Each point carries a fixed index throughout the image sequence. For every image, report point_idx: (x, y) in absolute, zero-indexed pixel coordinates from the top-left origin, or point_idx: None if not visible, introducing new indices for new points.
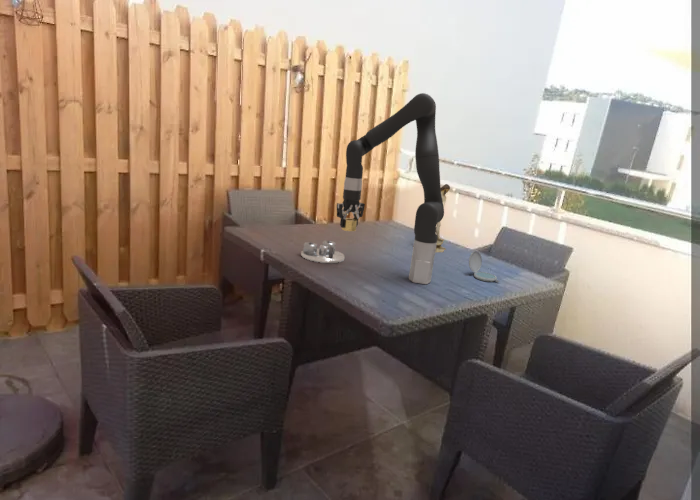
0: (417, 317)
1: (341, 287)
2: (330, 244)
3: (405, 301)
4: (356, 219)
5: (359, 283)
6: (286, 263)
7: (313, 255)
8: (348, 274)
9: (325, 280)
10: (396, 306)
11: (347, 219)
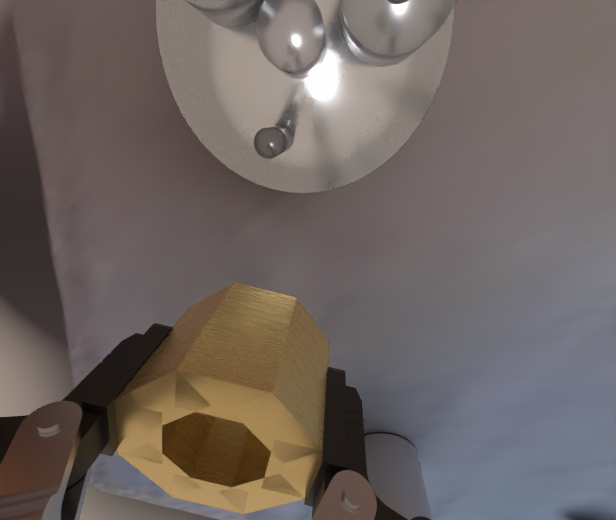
0: (160, 505)
1: None
2: (359, 41)
3: None
4: (306, 494)
5: None
6: (20, 32)
7: (220, 32)
8: None
9: (93, 298)
10: None
11: (225, 405)
